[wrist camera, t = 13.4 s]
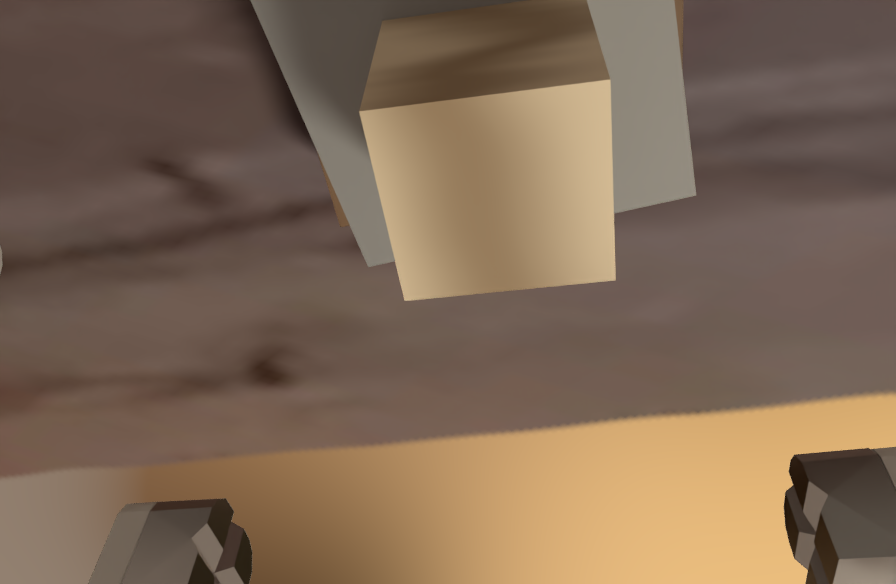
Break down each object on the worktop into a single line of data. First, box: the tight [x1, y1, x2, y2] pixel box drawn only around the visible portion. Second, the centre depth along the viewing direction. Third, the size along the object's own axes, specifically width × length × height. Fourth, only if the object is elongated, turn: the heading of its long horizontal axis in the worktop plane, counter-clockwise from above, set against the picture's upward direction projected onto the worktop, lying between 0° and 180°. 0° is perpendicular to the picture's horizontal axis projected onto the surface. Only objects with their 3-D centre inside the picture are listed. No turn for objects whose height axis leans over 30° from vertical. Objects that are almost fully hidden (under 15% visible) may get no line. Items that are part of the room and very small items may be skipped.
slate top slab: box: [251, 0, 696, 267], centre depth 22 cm, size 10×10×4 cm
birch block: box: [359, 0, 616, 301], centre depth 19 cm, size 5×5×5 cm
